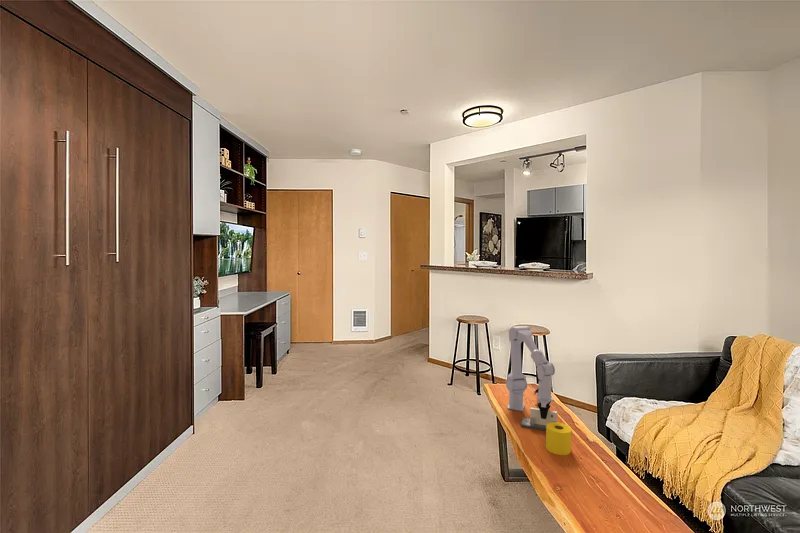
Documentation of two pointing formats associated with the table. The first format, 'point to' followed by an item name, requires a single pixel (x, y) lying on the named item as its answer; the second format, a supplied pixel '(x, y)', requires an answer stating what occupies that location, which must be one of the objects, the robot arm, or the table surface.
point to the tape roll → (558, 438)
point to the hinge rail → (532, 424)
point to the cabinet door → (536, 414)
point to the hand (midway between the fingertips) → (543, 416)
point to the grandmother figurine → (537, 396)
